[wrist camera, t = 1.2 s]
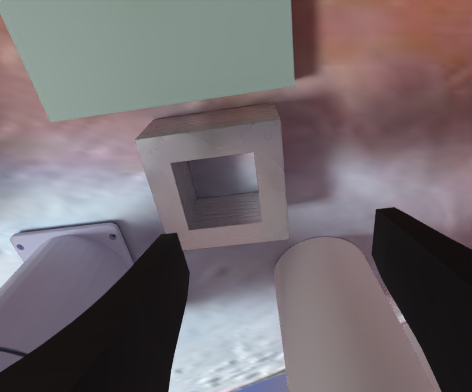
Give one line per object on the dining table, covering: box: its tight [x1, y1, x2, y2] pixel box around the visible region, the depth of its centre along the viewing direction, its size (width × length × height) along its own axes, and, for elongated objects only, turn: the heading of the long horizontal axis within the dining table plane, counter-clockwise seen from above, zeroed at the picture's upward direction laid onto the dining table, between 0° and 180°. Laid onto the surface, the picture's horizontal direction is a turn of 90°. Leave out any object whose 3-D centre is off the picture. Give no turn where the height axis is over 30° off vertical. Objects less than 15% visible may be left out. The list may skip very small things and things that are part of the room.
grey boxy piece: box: [135, 103, 289, 250], centre depth 17 cm, size 7×7×4 cm
